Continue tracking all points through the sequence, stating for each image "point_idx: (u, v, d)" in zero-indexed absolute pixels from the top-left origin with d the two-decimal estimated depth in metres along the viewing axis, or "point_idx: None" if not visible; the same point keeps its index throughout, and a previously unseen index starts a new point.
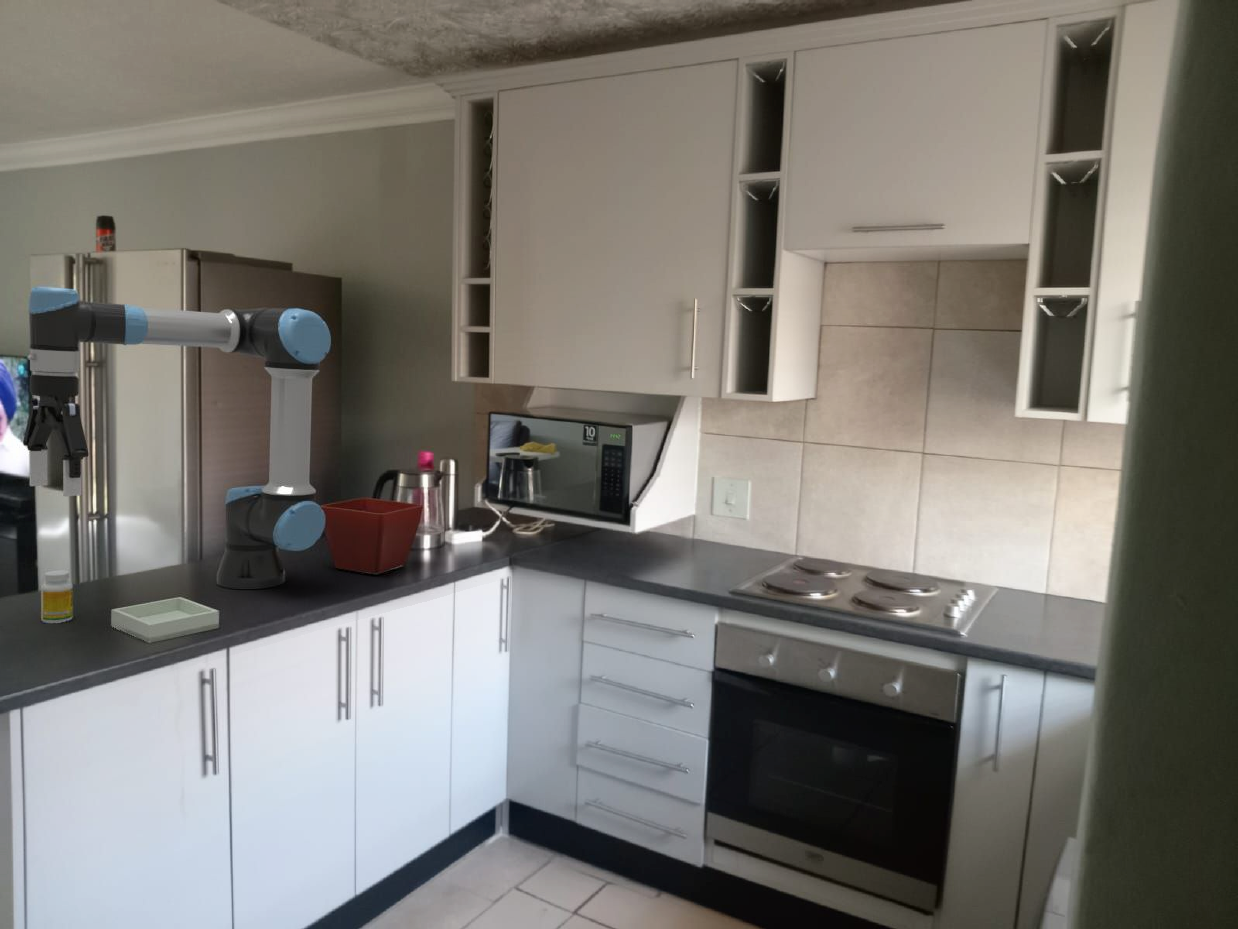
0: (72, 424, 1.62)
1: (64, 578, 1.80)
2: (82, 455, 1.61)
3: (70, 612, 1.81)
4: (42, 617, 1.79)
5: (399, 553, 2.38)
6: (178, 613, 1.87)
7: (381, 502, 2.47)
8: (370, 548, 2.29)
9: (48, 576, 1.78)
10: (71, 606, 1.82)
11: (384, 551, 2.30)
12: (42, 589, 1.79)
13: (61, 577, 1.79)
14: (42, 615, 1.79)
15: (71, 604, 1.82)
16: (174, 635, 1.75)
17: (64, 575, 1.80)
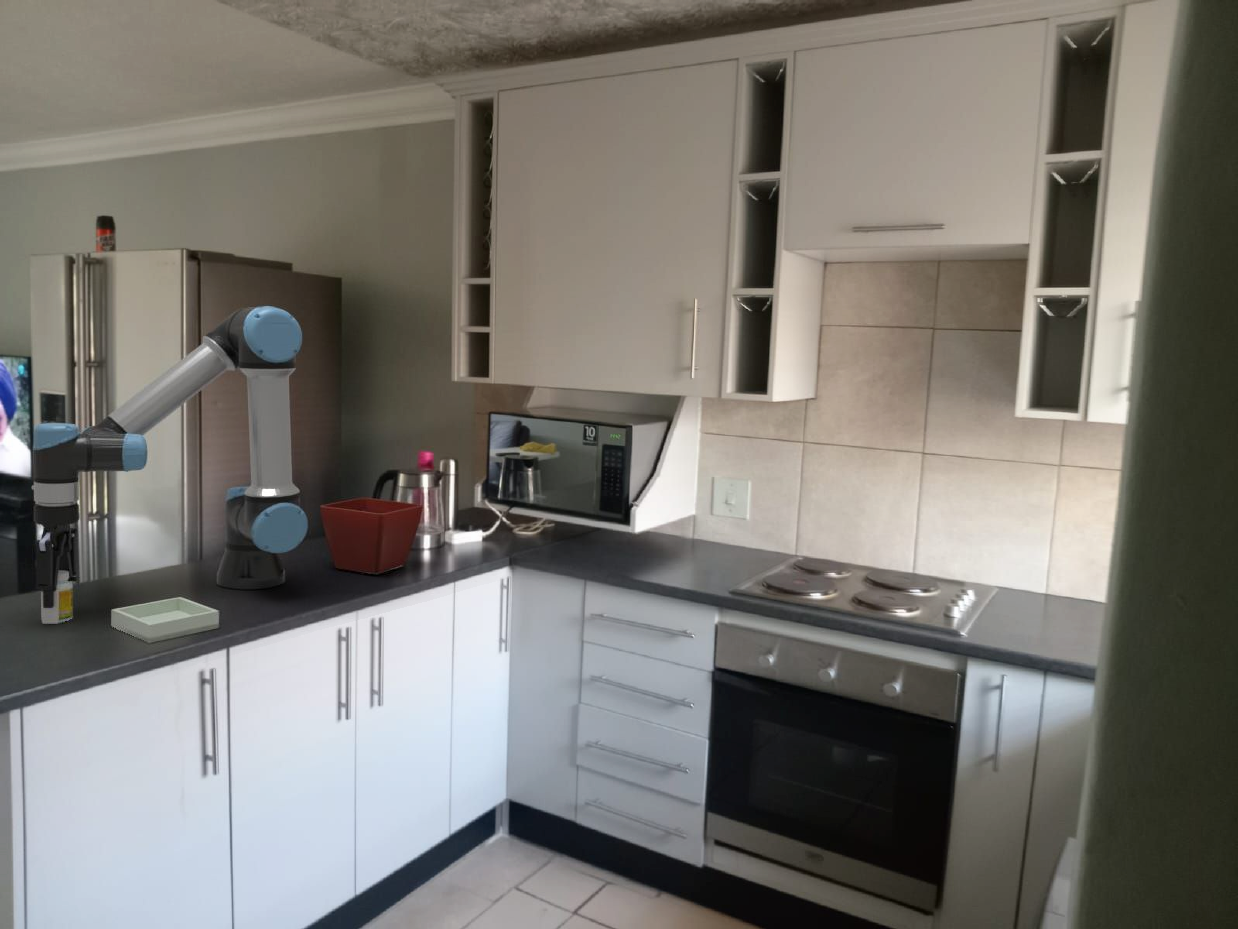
0: (40, 560, 1.74)
1: (64, 578, 1.80)
2: (44, 589, 1.75)
3: (70, 612, 1.81)
4: None
5: (399, 553, 2.38)
6: (178, 613, 1.87)
7: (381, 502, 2.47)
8: (370, 548, 2.29)
9: None
10: (71, 606, 1.82)
11: (384, 551, 2.30)
12: None
13: (61, 577, 1.79)
14: None
15: (71, 604, 1.82)
16: (174, 635, 1.75)
17: (64, 575, 1.80)
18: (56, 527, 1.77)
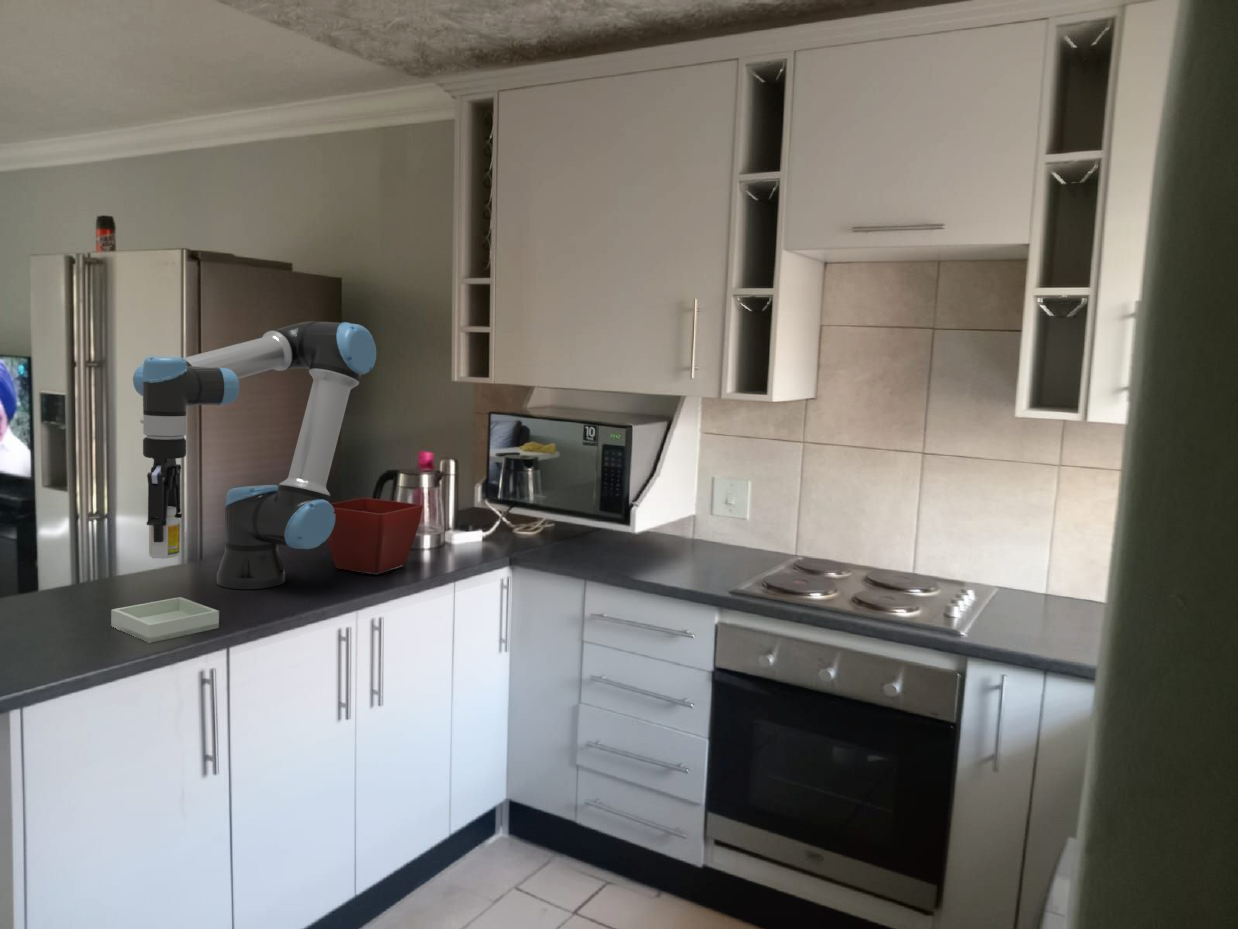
0: (152, 493, 1.72)
1: (173, 513, 1.78)
2: (156, 522, 1.73)
3: (177, 548, 1.80)
4: (151, 552, 1.78)
5: (399, 553, 2.38)
6: (178, 613, 1.87)
7: (381, 502, 2.47)
8: (370, 548, 2.29)
9: None
10: (178, 542, 1.80)
11: (384, 551, 2.30)
12: None
13: (169, 512, 1.78)
14: (151, 550, 1.78)
15: (178, 540, 1.80)
16: (174, 635, 1.75)
17: (172, 510, 1.78)
18: (166, 460, 1.75)
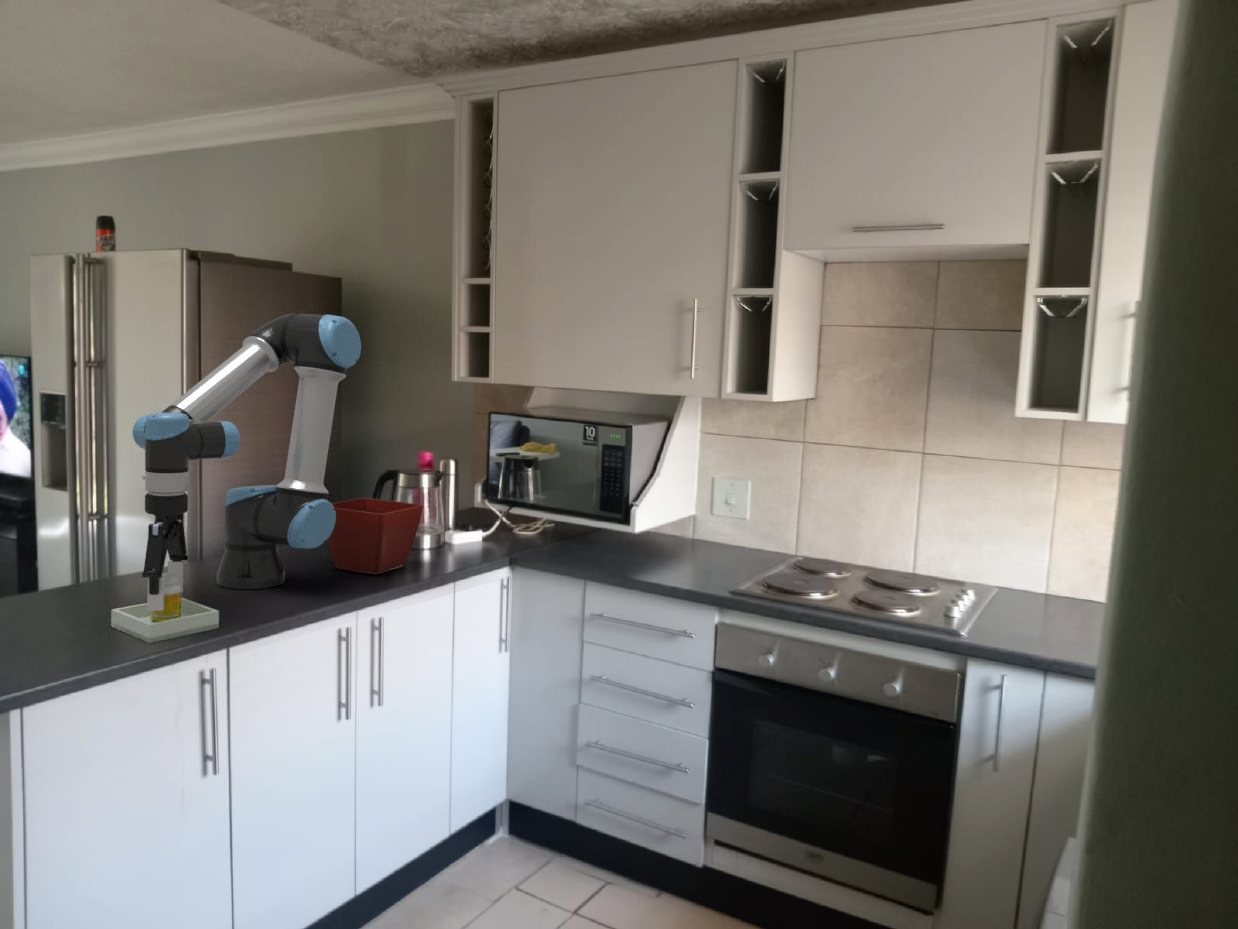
0: (151, 544, 1.72)
1: (174, 581, 1.79)
2: (151, 575, 1.70)
3: (178, 615, 1.81)
4: (152, 620, 1.79)
5: (399, 553, 2.38)
6: None
7: (381, 502, 2.47)
8: (370, 548, 2.29)
9: None
10: (179, 609, 1.81)
11: (384, 551, 2.30)
12: None
13: (170, 580, 1.78)
14: (152, 618, 1.79)
15: (179, 607, 1.81)
16: (174, 635, 1.75)
17: (174, 578, 1.79)
18: (168, 517, 1.77)
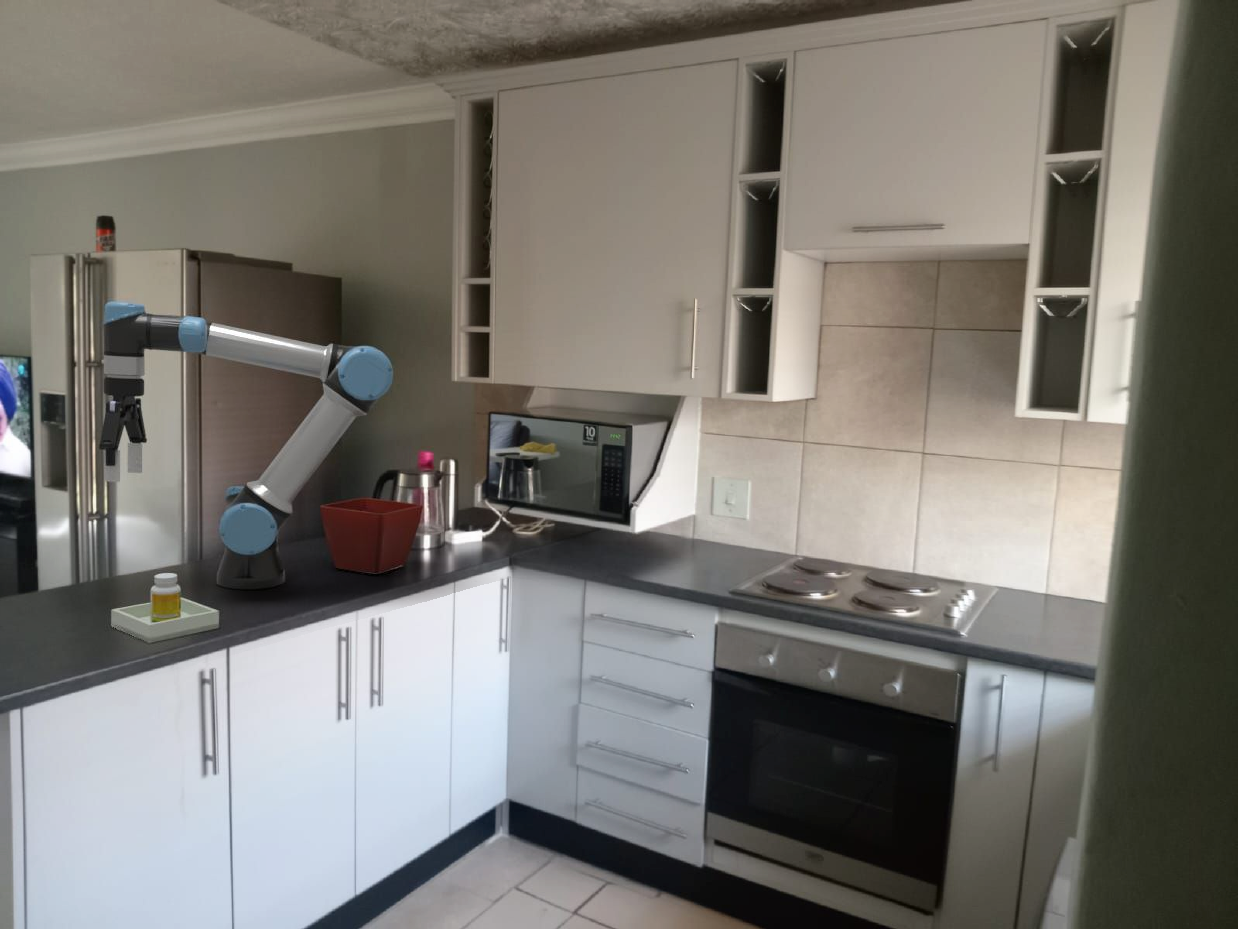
0: (108, 418, 1.86)
1: (173, 581, 1.79)
2: (107, 446, 1.84)
3: (178, 615, 1.80)
4: (151, 620, 1.79)
5: (399, 553, 2.38)
6: None
7: (381, 502, 2.47)
8: (370, 548, 2.29)
9: (157, 579, 1.78)
10: (179, 609, 1.81)
11: (384, 551, 2.30)
12: (152, 592, 1.78)
13: (170, 580, 1.78)
14: (151, 618, 1.79)
15: (179, 607, 1.81)
16: (174, 635, 1.75)
17: (173, 578, 1.79)
18: (125, 399, 1.91)
